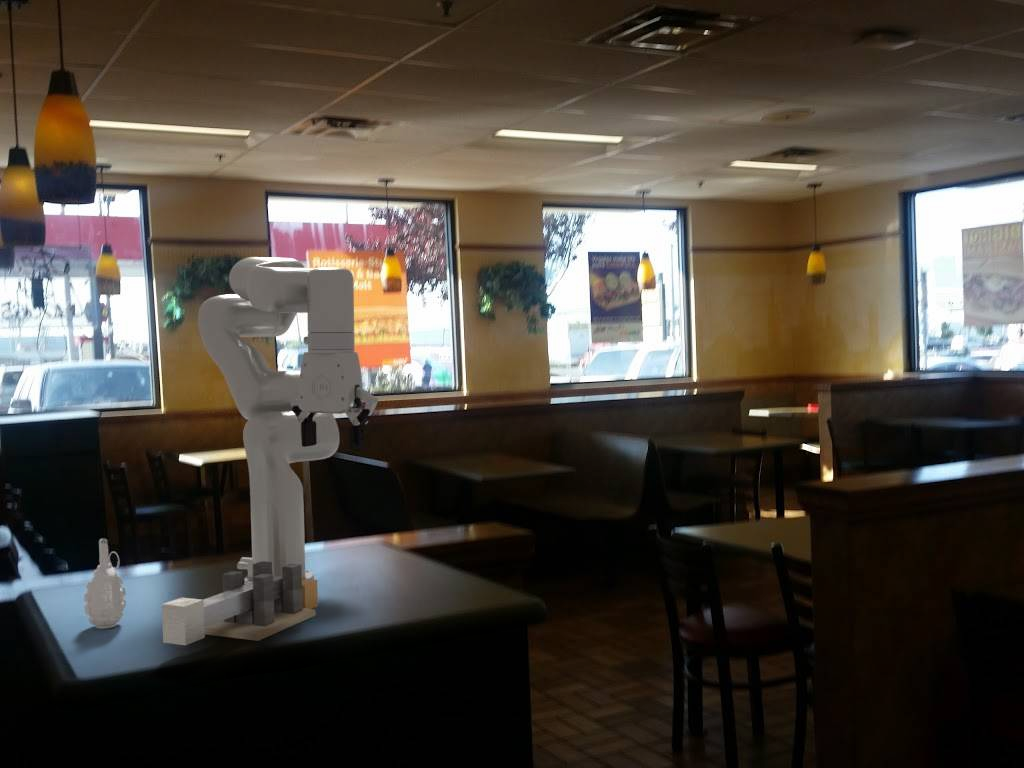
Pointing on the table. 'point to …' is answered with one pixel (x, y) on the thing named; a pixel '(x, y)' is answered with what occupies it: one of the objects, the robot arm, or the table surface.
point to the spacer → (309, 593)
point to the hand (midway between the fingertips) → (332, 447)
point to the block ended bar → (207, 612)
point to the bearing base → (258, 630)
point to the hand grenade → (105, 592)
